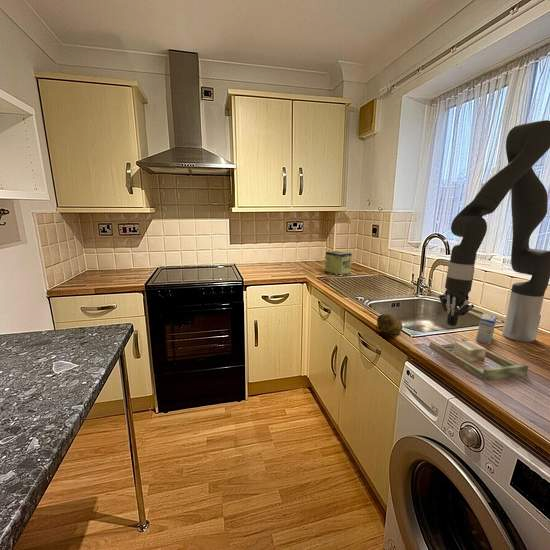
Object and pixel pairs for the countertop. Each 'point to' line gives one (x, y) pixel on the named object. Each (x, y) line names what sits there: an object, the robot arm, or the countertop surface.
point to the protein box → (338, 262)
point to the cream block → (469, 350)
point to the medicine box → (486, 328)
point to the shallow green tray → (487, 374)
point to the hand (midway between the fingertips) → (451, 325)
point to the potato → (389, 324)
